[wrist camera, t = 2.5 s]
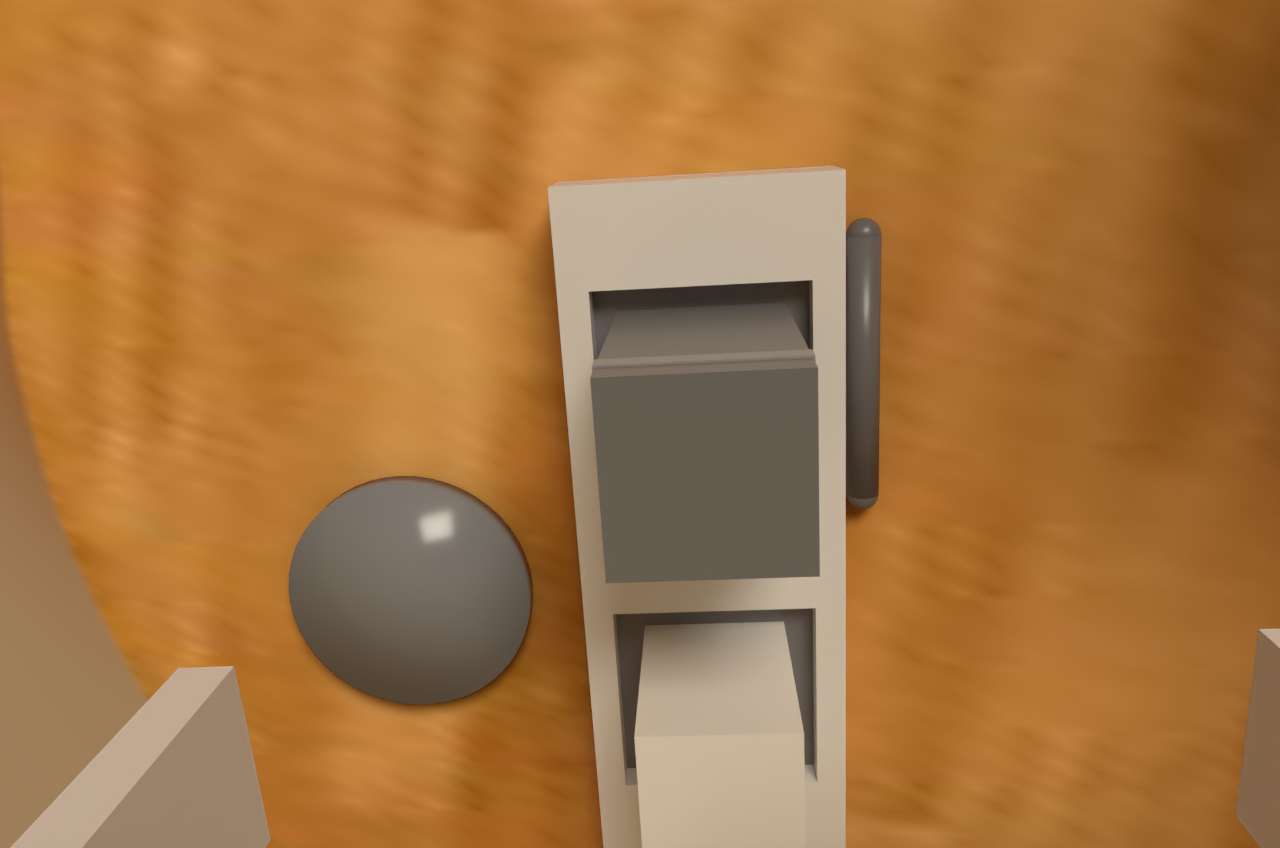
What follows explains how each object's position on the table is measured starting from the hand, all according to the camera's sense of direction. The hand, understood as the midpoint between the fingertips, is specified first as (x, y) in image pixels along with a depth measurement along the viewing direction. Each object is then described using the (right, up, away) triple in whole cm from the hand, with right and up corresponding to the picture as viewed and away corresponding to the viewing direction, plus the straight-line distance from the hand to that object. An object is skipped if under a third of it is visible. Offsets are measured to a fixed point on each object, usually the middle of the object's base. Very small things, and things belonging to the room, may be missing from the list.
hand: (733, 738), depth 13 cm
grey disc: (-9, -1, +21) cm, 22 cm away
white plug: (+1, -4, +19) cm, 20 cm away
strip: (+1, +1, +19) cm, 19 cm away
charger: (+1, +5, +16) cm, 17 cm away
